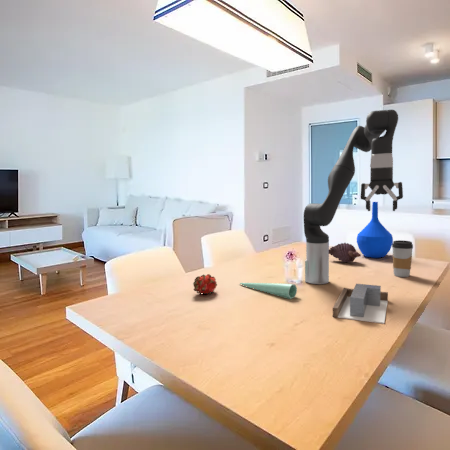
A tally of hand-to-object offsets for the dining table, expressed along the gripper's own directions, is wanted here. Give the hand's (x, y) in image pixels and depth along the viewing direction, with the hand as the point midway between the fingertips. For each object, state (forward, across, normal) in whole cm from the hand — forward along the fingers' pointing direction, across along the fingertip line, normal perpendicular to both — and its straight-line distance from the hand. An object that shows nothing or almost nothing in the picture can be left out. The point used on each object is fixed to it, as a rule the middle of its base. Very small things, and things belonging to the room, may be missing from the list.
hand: (381, 210), depth 135 cm
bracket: (+30, +2, +23) cm, 38 cm away
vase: (+32, +10, -65) cm, 73 cm away
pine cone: (+32, +22, -46) cm, 60 cm away
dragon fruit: (+30, +61, +28) cm, 74 cm away
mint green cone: (+31, +41, +16) cm, 54 cm away
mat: (+31, +3, +22) cm, 38 cm away
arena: (+31, +4, +22) cm, 38 cm away
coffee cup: (+32, -6, -28) cm, 42 cm away
